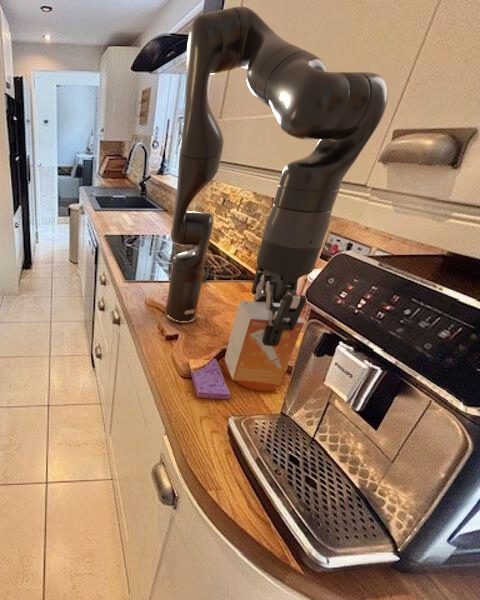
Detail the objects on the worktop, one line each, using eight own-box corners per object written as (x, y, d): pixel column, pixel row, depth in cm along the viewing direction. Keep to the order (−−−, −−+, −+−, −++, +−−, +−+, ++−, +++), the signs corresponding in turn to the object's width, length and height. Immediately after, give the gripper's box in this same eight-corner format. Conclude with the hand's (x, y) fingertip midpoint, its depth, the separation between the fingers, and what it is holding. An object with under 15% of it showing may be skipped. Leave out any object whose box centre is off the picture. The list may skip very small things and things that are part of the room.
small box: (232, 381, 57) (249, 318, 51) (223, 358, 63) (238, 299, 57) (281, 385, 56) (305, 322, 50) (268, 362, 62) (288, 302, 56)
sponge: (197, 397, 74) (198, 391, 73) (187, 362, 85) (188, 356, 84) (229, 400, 73) (231, 393, 72) (214, 363, 84) (216, 358, 83)
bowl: (218, 354, 87) (221, 339, 85) (271, 359, 85) (276, 343, 83) (228, 388, 76) (233, 372, 74) (290, 395, 74) (297, 379, 71)
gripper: (346, 256, 41) (304, 361, 49) (300, 225, 53) (272, 313, 61) (281, 253, 42) (250, 356, 50) (251, 223, 54) (230, 309, 62)
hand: (262, 332), depth 55 cm, fingers closed on small box, 6 cm apart
